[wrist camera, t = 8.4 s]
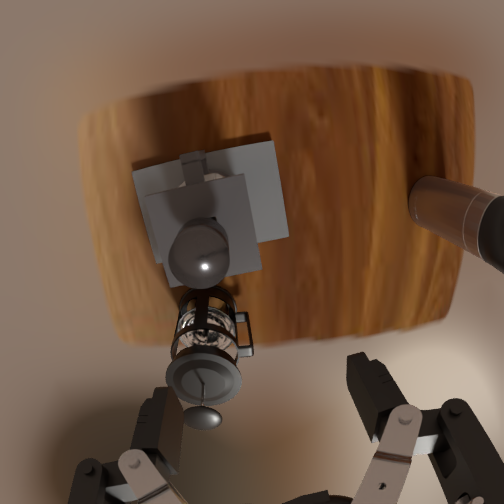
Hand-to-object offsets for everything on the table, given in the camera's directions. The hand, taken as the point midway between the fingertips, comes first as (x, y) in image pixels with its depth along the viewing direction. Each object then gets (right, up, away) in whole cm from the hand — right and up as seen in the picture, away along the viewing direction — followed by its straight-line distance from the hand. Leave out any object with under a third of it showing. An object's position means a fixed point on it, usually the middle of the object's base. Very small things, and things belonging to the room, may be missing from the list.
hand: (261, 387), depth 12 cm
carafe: (-6, +14, +28) cm, 32 cm away
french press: (-7, -3, +36) cm, 37 cm away
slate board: (-6, +13, +30) cm, 33 cm away
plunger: (-6, +10, +23) cm, 26 cm away
